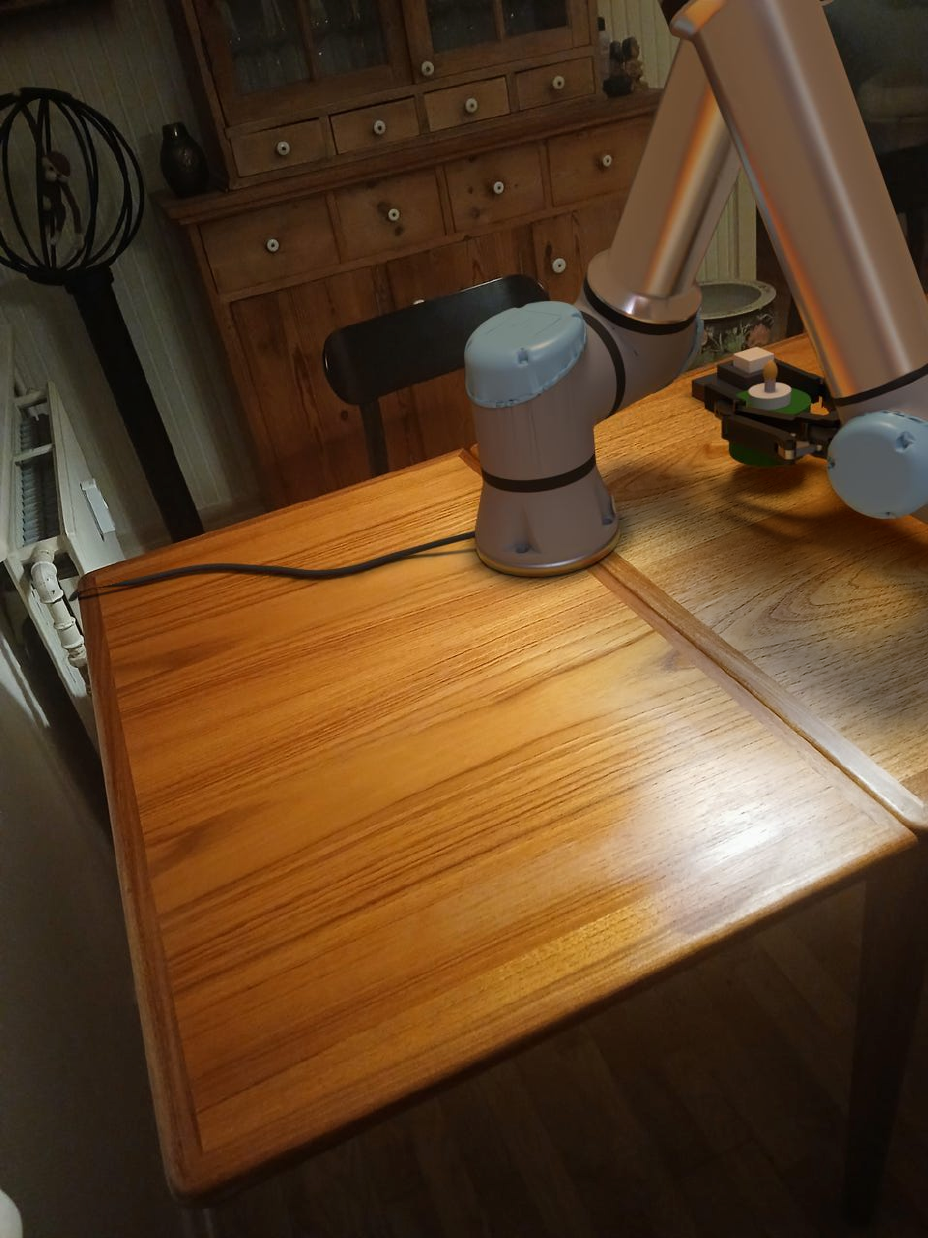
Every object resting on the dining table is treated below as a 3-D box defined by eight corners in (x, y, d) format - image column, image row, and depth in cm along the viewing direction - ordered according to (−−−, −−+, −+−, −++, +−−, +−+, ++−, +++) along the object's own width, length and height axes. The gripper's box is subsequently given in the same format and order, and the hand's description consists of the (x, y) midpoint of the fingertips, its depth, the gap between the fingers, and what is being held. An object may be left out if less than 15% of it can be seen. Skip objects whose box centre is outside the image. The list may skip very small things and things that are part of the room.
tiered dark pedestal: (735, 418, 118) (735, 388, 116) (691, 395, 126) (690, 366, 124) (816, 392, 121) (818, 362, 119) (768, 371, 129) (769, 342, 127)
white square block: (749, 374, 120) (749, 361, 119) (732, 366, 123) (732, 353, 122) (773, 366, 120) (774, 353, 119) (756, 359, 123) (756, 346, 122)
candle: (780, 473, 98) (783, 381, 93) (713, 456, 104) (712, 368, 98) (823, 442, 102) (829, 352, 97) (757, 427, 108) (758, 341, 102)
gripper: (790, 527, 85) (659, 443, 103) (980, 460, 90) (822, 391, 108) (794, 451, 81) (656, 377, 99) (992, 384, 86) (826, 325, 104)
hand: (743, 384), depth 104 cm, fingers closed on candle, 8 cm apart
